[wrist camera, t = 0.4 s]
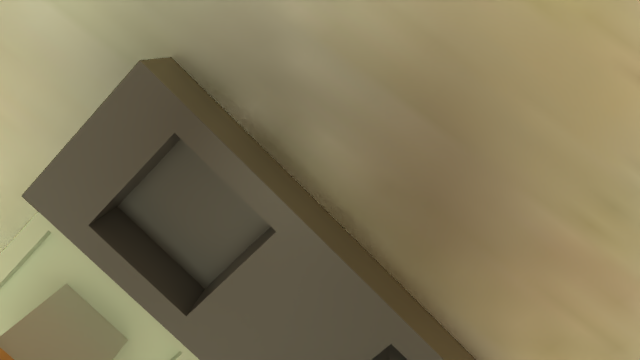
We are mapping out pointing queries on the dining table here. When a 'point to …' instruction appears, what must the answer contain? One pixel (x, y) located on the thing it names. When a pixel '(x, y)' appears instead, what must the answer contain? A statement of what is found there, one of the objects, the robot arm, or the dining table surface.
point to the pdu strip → (222, 235)
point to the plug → (62, 332)
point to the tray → (85, 279)
